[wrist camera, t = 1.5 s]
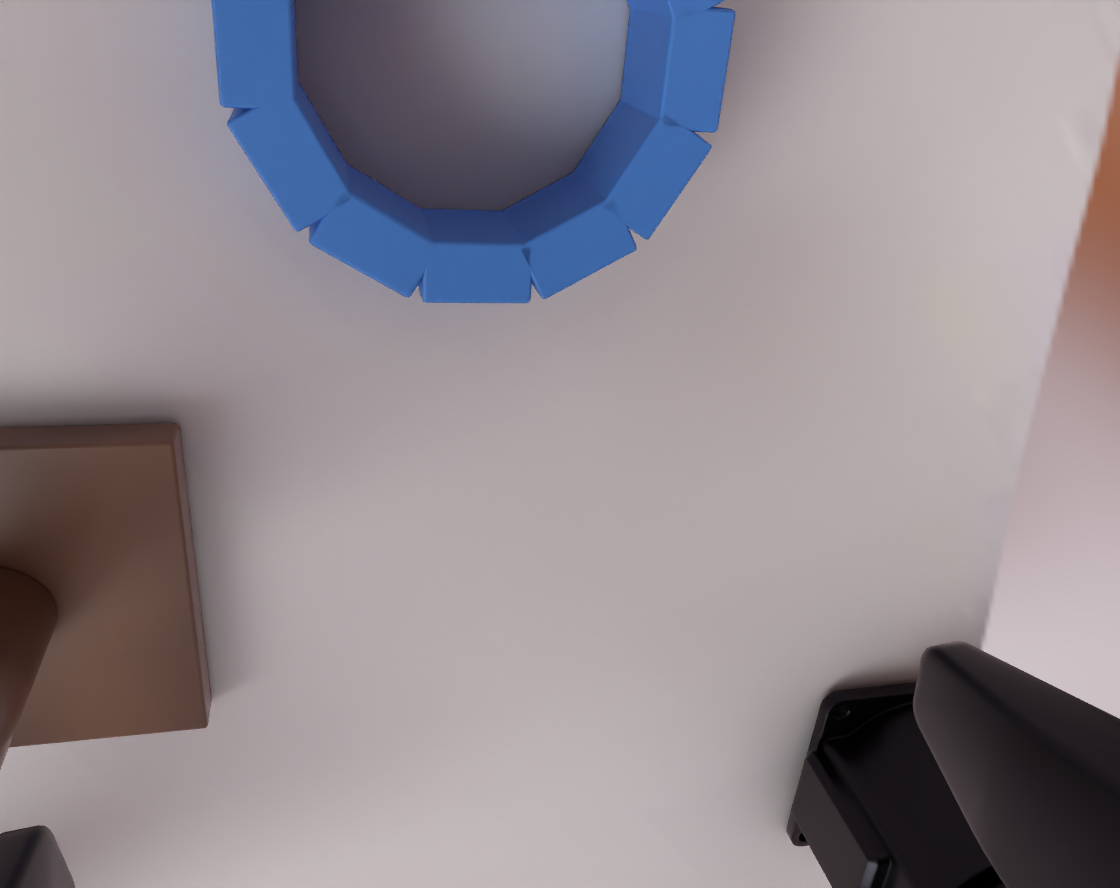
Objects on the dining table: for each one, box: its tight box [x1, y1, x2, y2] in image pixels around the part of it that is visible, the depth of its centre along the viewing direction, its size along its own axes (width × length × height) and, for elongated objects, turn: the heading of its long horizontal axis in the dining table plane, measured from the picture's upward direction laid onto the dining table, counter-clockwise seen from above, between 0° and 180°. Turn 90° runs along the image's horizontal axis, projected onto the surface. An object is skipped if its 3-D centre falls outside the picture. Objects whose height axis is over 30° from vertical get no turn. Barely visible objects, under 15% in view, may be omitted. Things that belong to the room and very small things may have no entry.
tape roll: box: [212, 0, 735, 303], centre depth 17 cm, size 9×9×3 cm
